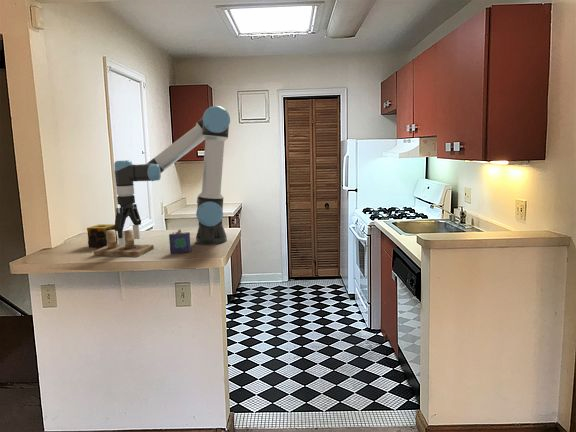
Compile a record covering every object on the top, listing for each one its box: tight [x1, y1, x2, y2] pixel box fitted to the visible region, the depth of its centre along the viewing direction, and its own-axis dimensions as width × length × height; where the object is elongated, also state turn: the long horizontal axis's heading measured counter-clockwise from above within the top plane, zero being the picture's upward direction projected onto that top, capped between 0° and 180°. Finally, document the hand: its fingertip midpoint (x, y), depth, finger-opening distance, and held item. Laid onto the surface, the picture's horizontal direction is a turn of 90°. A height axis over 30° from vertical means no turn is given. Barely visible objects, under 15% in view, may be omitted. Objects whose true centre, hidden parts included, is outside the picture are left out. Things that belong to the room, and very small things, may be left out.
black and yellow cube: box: [86, 223, 118, 249], centre depth 229 cm, size 10×10×10 cm
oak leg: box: [123, 229, 135, 249], centre depth 213 cm, size 4×4×10 cm
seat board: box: [93, 230, 155, 257], centre depth 214 cm, size 22×14×10 cm, turn 80°
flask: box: [168, 228, 192, 255], centre depth 210 cm, size 9×3×11 cm, turn 113°
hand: (129, 241), depth 213 cm, fingers open, 12 cm apart
